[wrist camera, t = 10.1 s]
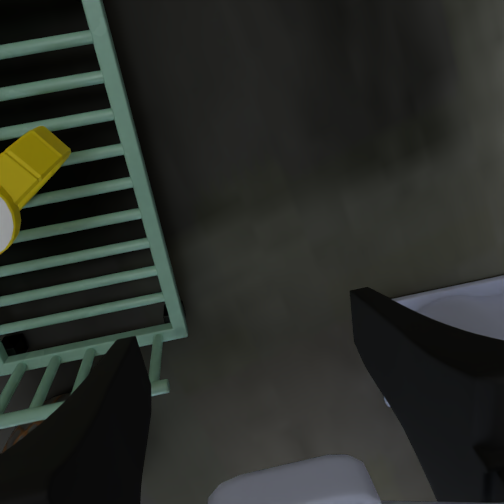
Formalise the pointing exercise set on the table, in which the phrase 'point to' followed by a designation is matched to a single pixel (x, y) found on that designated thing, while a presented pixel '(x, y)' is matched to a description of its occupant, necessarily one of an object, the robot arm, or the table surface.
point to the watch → (26, 176)
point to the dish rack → (15, 347)
